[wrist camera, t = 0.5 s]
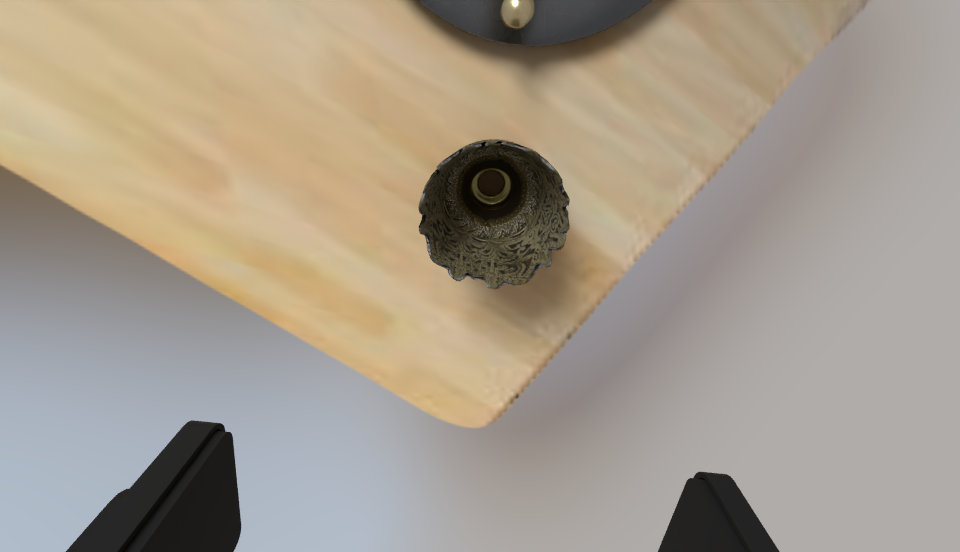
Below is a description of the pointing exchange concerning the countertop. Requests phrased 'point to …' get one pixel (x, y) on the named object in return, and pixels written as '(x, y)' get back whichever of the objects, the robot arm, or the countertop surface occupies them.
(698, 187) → the countertop surface
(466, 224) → the dark hollow rounded piece
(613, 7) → the carrier plate
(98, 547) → the robot arm
